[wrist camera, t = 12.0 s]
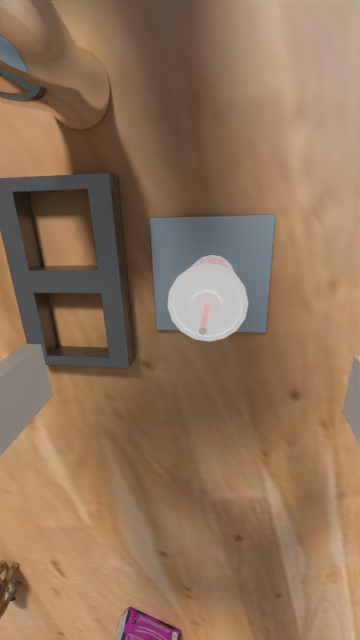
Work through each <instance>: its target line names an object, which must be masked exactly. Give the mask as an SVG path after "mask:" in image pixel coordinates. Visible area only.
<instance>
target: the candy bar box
mask: <svg viewBox="0 0 360 640" xmlns="http://www.w3.org/2000/svg"><path fill="white" fill-rule="evenodd" d="M180 633H181V631H180V630H178V629H175V628H173V627H171V626H169V625H167V624H165V623H163V622H161V621H158V620H156V619H154V618H152V617H150V616H148V615H146V614H143V613H141V612H139V611H137V610H135V609H133V608H131V607H129V608H128V609H127V610H126V612H125V613H124V614H123V615H122V616H121V618H120V620H119V624H118V628H117V632H116V636H115V640H180Z"/></svg>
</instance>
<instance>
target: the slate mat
mask: <svg viewBox="0 0 360 640" xmlns="http://www.w3.org/2000/svg"><path fill="white" fill-rule="evenodd" d="M274 224H275V215H244V216H206V217H168V218H150V230H151V245H152V261H153V277H154V293H155V309H156V325H157V330H179V328H178V327H177V326H176V325H175V324H174V322H173V321H172V319H171V316H170V313H169V310H168V296H169V291H170V289H171V287H172V285H173V284H174V282H175V280H176V278H177V277H178V276H179V275H180V274H182V273H183V272H184V271H186V270H187V269H188V268H190V267H191V266H192V265H193V264H194V263H195V262H197V261H198V260H199V259H200V258H202V257H205V256H209V255H215V256H220V257H222V258H224V259H225V260H227V261H228V262H229V264H230V265H231V266H232V268H233V270H234V272H235V274H236V275H237V277H238V278H239V279H240V281H241V282H242V283H243V285H244V287H245V290H246V294H247V299H248V308H247V313H246V318H245V319H244V321H243V322H242V324H241V325H240V327H239V328H238V329H237V331H235V332H256V333H266V324H267V312H268V299H269V287H270V274H271V261H272V249H273V236H274Z"/></svg>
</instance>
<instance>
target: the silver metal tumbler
mask: <svg viewBox="0 0 360 640" xmlns="http://www.w3.org/2000/svg"><path fill="white" fill-rule="evenodd" d="M109 99H110V86H109V81H108V77H107V74H106V72H105V69H104V67H103V66H102V64H101V63H100V61H99V60H98V59H97V58H96V57H95V56H94V55H93V54H92V53H91V52H90V51H88V50H86V49H85V48H83V47H81V46H79V45H77V44H76V42H75V41H74V39H73V37H72V36H71V34H70V32H69V30H68V28H67V26H66V24H65V23H64V21H63V19H62V17H61V15H60V14H59V12H58V10H57V8H56V7H55V5H54V4H53V2H52V1H51V0H0V102H2V103H5V104H9V105H13V106H17V107H21V108H27V109H34V110H42V111H48V112H50V113H51V114H52V115H53V116H54V117H56V118H57V119H58V120H59V121H60V122H61V123H63V124H64V125H66V126H68V127H70V128H73V129H78V130H83V129H88V128H91V127H93V126H94V125H96V124H97V123H98V122H99V121H100V120H101V119H102V118H103V116H104V115H105V113H106V110H107V108H108V104H109Z"/></svg>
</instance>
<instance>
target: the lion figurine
mask: <svg viewBox="0 0 360 640" xmlns="http://www.w3.org/2000/svg"><path fill="white" fill-rule="evenodd" d="M18 566H19V564H18V563H17V562H13V564H12V565H11V567H10V571H9V573H8V575H7V576H6V578H5V579H4V580H2V578H1V577H0V618H1V617H2V615H3V614H4V612H5V610H6V608H7V606H8V604H9V602H10V601H13V600H15V597H13V595H14V594H15V592H16V590H17V589H18V588H19V587H20V586H21V582H16V583H15V586H14V588H13V590H12V591H11V593H10V595H9V596H8V598H7V599H6V600H5V601H4V599H5V593H6V592H7V590H8V587H7V586H8V585H9V582H10V580H11V578H12V576H13V574H14V572H15V570H16V568H17V567H18ZM5 568H6V562H5V561H3V560H2V561H0V574H1V573H2V572H3V571H4V569H5Z"/></svg>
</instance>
